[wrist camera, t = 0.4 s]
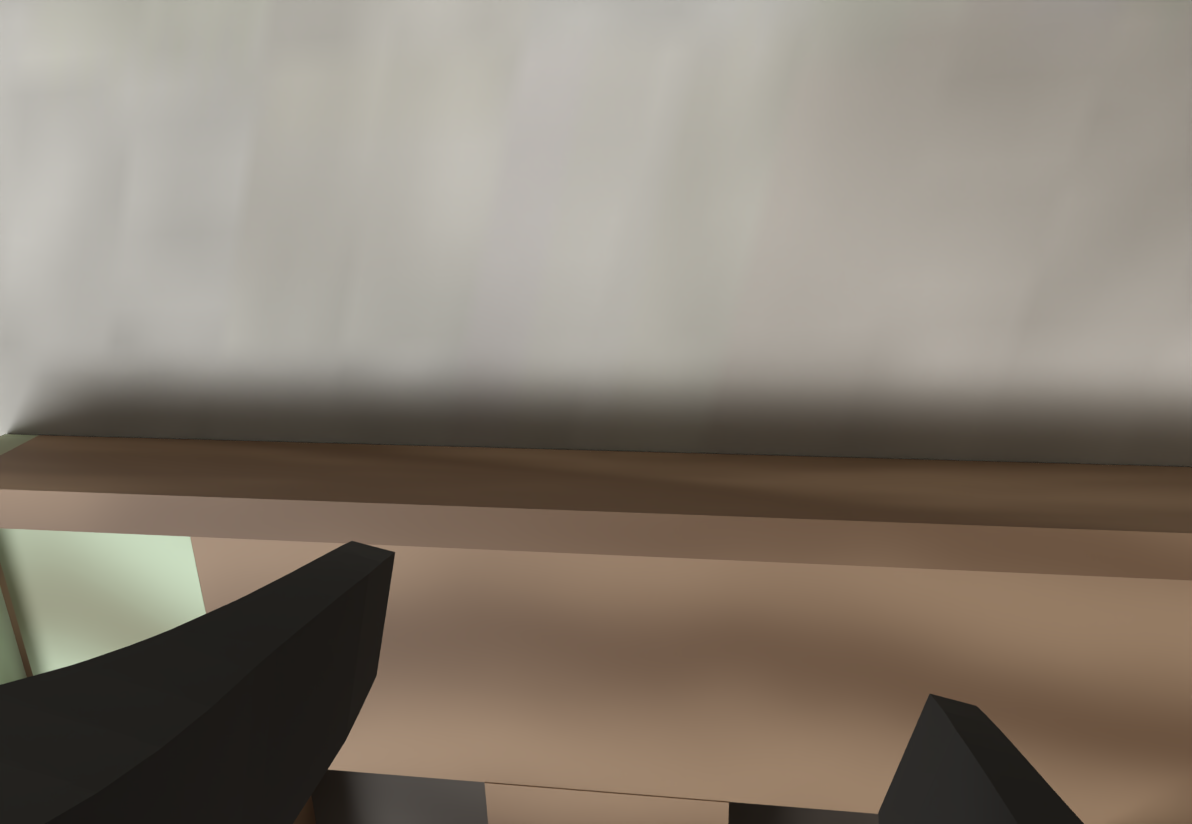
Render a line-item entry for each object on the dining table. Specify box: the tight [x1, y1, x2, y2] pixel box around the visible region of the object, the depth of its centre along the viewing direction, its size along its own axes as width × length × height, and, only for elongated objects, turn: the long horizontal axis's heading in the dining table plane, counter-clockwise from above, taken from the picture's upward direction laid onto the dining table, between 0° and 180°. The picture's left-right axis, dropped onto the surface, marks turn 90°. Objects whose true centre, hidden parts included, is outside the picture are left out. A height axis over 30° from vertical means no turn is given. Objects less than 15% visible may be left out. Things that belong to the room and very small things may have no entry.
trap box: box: [0, 434, 1192, 824], centre depth 23 cm, size 15×34×3 cm, turn 92°
